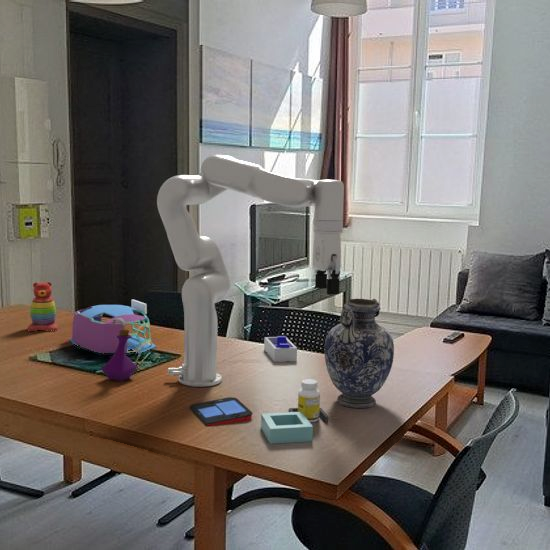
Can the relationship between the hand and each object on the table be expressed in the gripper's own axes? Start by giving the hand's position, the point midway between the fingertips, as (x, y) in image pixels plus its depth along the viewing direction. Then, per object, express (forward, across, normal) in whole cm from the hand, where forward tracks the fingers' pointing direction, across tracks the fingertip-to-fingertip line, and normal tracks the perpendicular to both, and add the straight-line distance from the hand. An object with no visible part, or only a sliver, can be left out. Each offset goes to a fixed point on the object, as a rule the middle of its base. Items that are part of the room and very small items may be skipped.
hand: (326, 291), depth 181 cm
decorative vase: (+30, +3, +8) cm, 32 cm away
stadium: (+29, -70, -55) cm, 93 cm away
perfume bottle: (+29, -28, -54) cm, 67 cm away
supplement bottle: (+30, +14, -9) cm, 34 cm away
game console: (+31, +6, -30) cm, 43 cm away
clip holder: (+30, -46, 0) cm, 55 cm away
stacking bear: (+28, -96, -80) cm, 128 cm away
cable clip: (+30, -45, 0) cm, 54 cm away
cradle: (+30, +14, -9) cm, 34 cm away
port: (+30, +22, -17) cm, 41 cm away
